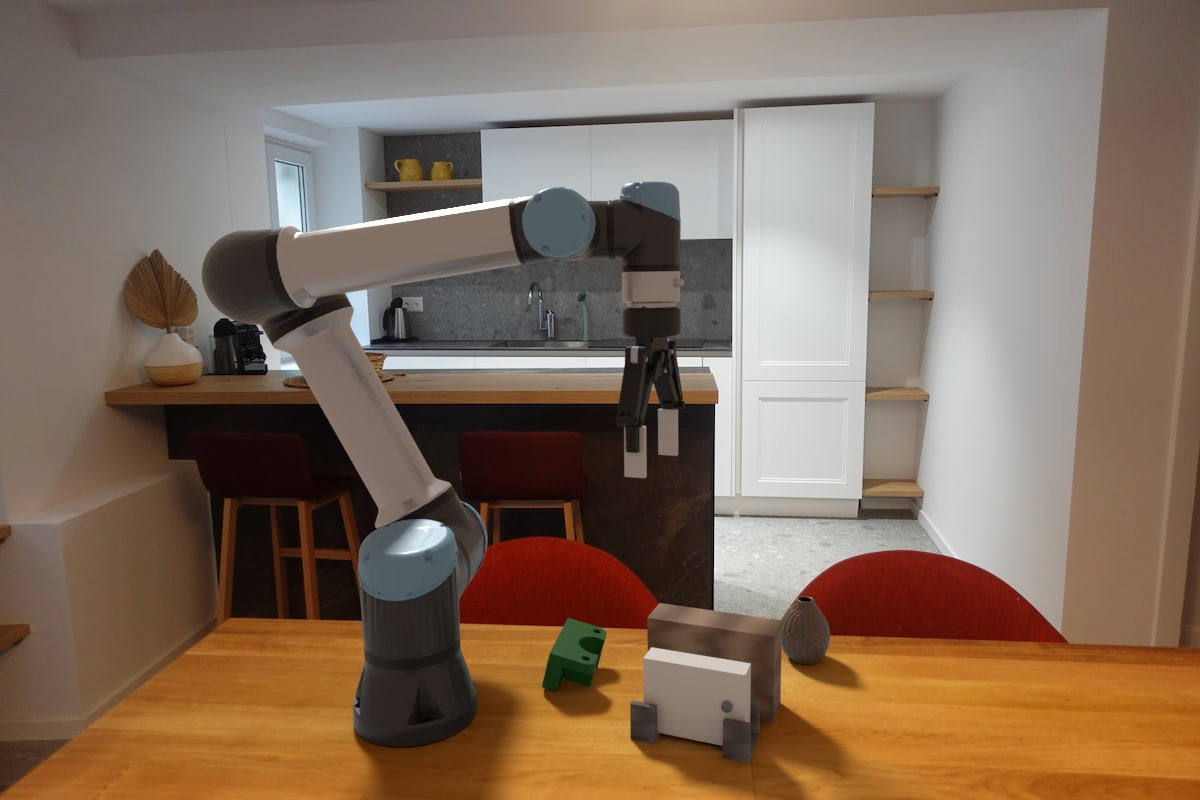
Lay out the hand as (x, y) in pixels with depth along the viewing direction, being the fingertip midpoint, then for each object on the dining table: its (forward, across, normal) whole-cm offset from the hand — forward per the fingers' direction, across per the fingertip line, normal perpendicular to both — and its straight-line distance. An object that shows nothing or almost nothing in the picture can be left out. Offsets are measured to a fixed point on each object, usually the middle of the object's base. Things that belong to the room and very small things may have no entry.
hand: (652, 465), depth 108 cm
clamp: (+29, -6, +9) cm, 31 cm away
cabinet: (+29, -11, -10) cm, 32 cm away
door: (+28, -15, -10) cm, 33 cm away
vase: (+29, +10, -19) cm, 36 cm away
